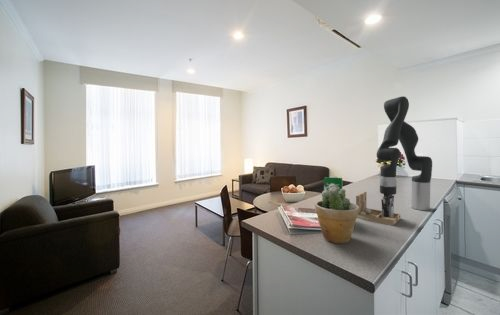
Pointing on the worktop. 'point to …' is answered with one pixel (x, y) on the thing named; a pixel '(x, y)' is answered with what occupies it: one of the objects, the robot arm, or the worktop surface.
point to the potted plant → (336, 215)
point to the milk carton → (332, 182)
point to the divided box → (374, 212)
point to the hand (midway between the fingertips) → (387, 215)
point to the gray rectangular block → (391, 211)
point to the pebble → (368, 211)
